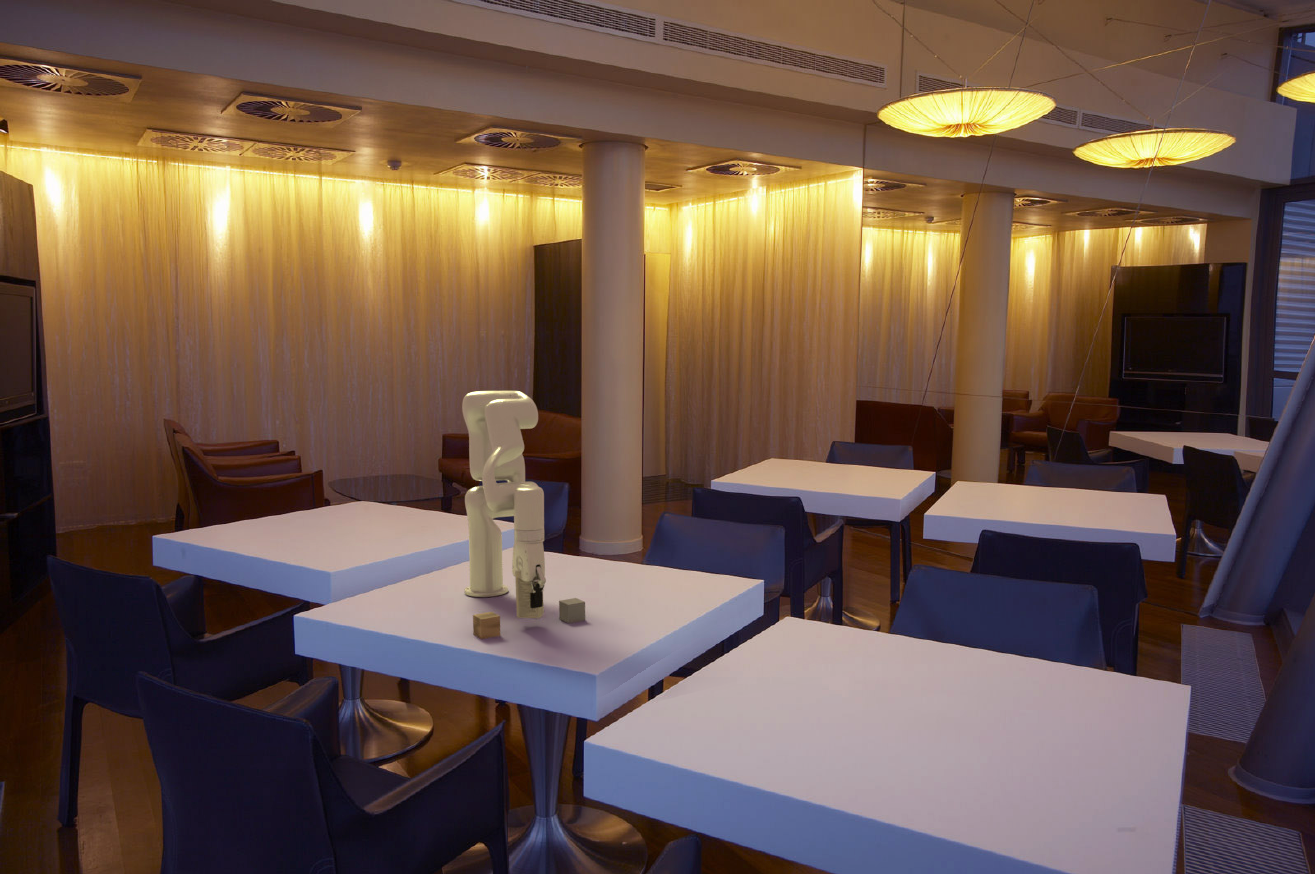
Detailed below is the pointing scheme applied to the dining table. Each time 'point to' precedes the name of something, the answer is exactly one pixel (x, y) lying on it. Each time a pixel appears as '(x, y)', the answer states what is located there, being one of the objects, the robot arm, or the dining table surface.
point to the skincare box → (525, 599)
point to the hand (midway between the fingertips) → (529, 603)
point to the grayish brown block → (572, 610)
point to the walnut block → (486, 625)
